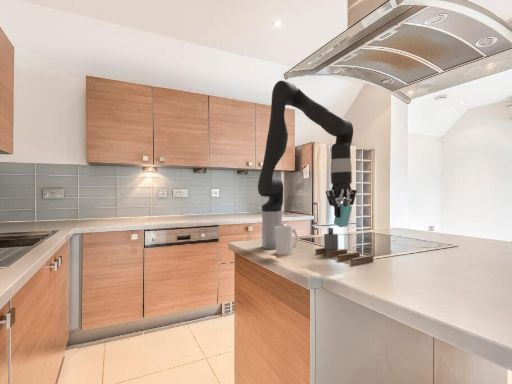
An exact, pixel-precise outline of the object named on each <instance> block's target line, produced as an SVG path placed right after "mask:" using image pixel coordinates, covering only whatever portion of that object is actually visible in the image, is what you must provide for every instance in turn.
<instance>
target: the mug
mask: <svg viewBox="0 0 512 384" xmlns="http://www.w3.org/2000/svg"><path fill="white" fill-rule="evenodd" d="M275 235H276V249H275V253H276V254H277V255H278V256H288V255H289V256H290V255H292V254H293V253H292V251H293V249H294V248H296V247H297V246H296V245H297V243H298V234H297V230H296V228H293V227H292V226H291V225H282V226H276V227H275ZM293 235H294V241H293V240H292V239H293V238H292V237H293Z"/></svg>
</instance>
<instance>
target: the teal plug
mask: <svg viewBox="0 0 512 384" xmlns="http://www.w3.org/2000/svg"><path fill="white" fill-rule="evenodd" d="M348 202H349V199H347V198H344V201H343V202H341V204H340V207H339V208H340V217H339V218H338V217H335V216H334V220H333V224H334V225H336V226H338V227H339V228H343V227H344V228H346V227H348V225H349V221H350V218H351V217H350V216H351V213H352V210H353V209H352V208H353V205H348Z"/></svg>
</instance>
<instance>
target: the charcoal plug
mask: <svg viewBox="0 0 512 384" xmlns="http://www.w3.org/2000/svg"><path fill="white" fill-rule="evenodd" d="M327 231H328V233H324V235H323V236H324V239H323V241H324V243H323V244H324V245H323V246H324V248H325V254H326V252H329V251H336V250H339V247H338V246H339V244H338V243H339V242H338V238H339V237H338V234H337V233H334V228H333V227H328V230H327Z"/></svg>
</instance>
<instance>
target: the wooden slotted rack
mask: <svg viewBox="0 0 512 384" xmlns="http://www.w3.org/2000/svg"><path fill="white" fill-rule="evenodd" d="M314 250H315V255H316V256H320V257H324V258H327V259H330V260H333V261H337V262H339V263H343V264H345V265H349V266H358V265H363V264H367V263H368V264H369V263H372V262H374V255H373V254H369V255H364V256H360V252H359V251H354V252H349V253H348V248H343V249H338V250H336V251H329V252H326V254H325V247H321V248H315V249H314Z"/></svg>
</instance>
